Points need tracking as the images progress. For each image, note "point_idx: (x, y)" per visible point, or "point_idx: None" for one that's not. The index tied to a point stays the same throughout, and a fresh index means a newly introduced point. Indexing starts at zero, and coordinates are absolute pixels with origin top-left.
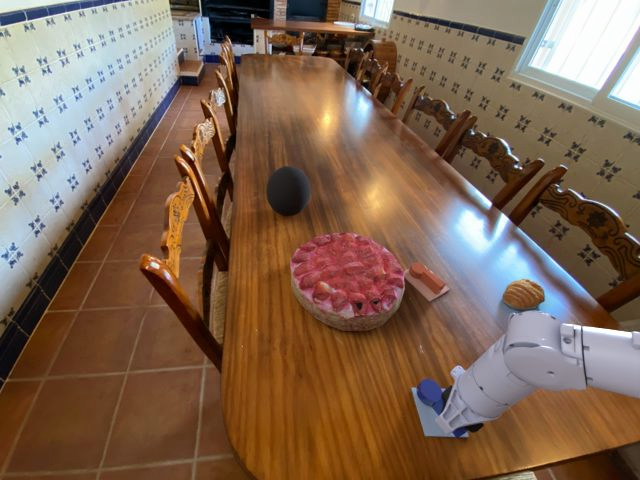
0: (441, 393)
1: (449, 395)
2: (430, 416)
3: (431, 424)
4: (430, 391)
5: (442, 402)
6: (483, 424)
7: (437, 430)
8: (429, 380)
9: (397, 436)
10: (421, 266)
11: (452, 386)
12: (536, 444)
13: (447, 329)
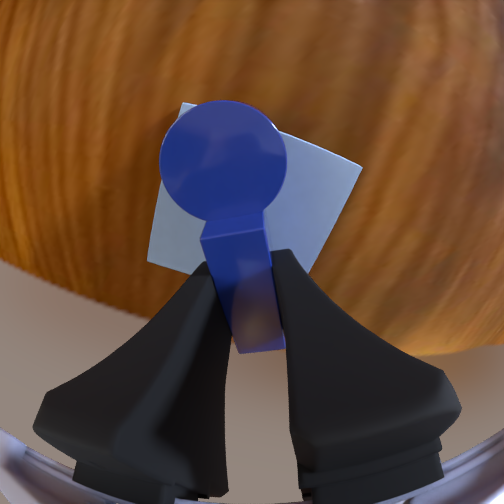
0: (268, 197)
1: (24, 496)
2: (196, 220)
3: (183, 242)
4: (210, 169)
5: (215, 255)
6: (220, 496)
7: (194, 262)
8: (248, 115)
9: (72, 231)
10: None
11: (120, 461)
12: (425, 337)
13: (496, 23)
